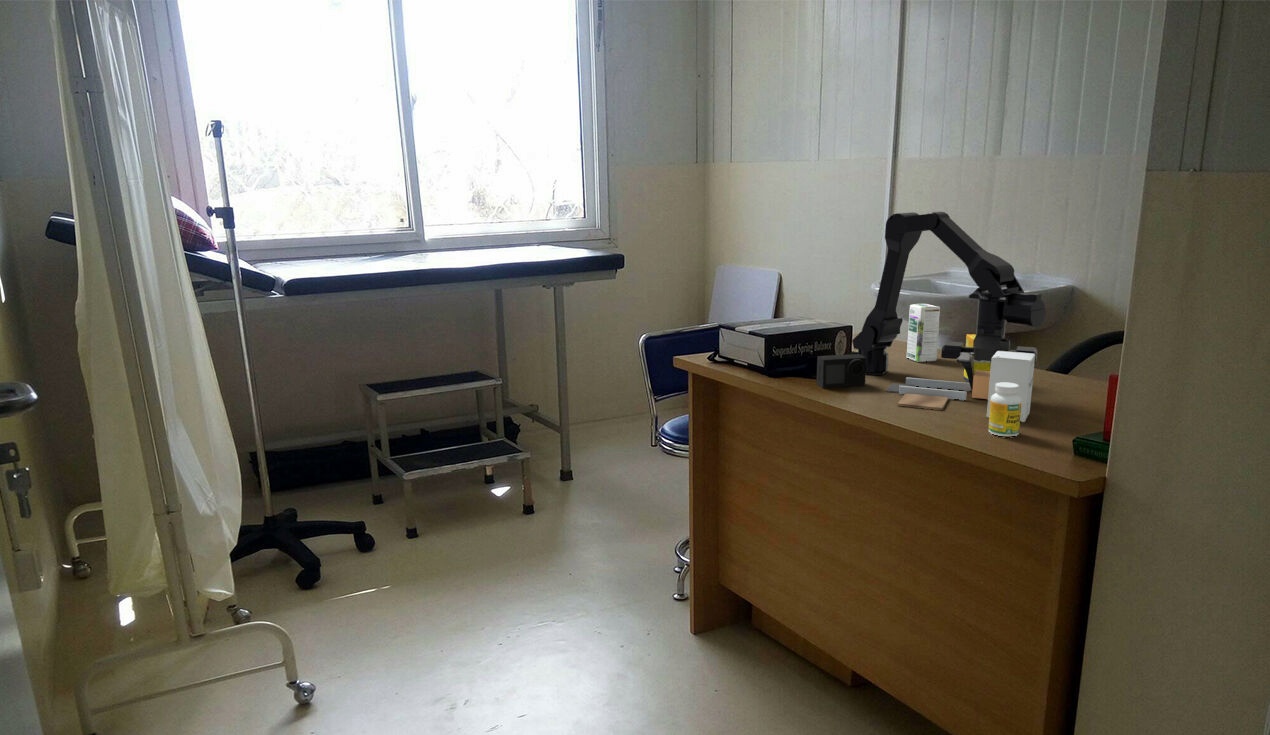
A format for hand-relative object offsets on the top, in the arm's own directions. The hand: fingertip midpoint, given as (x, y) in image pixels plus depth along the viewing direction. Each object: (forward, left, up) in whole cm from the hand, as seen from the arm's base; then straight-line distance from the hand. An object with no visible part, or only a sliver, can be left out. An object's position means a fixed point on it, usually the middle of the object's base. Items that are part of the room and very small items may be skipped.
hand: (985, 391), depth 180 cm
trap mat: (-18, 0, -1) cm, 18 cm away
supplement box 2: (+6, -13, -2) cm, 14 cm away
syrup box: (-18, +33, -2) cm, 38 cm away
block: (0, 0, -1) cm, 1 cm away
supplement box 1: (-2, +14, -2) cm, 14 cm away
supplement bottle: (+6, -26, -2) cm, 27 cm away
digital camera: (-31, -2, -2) cm, 31 cm away
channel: (-10, 0, -1) cm, 11 cm away
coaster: (-11, -10, -1) cm, 15 cm away
